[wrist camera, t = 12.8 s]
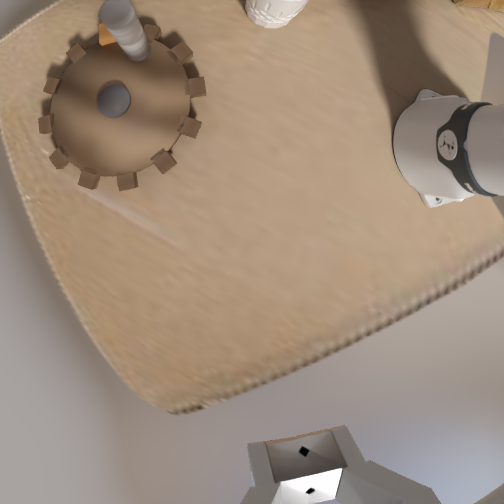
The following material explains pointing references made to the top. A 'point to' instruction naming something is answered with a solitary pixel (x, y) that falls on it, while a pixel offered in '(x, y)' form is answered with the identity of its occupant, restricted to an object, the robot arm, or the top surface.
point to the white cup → (273, 11)
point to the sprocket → (121, 101)
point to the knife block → (483, 4)
